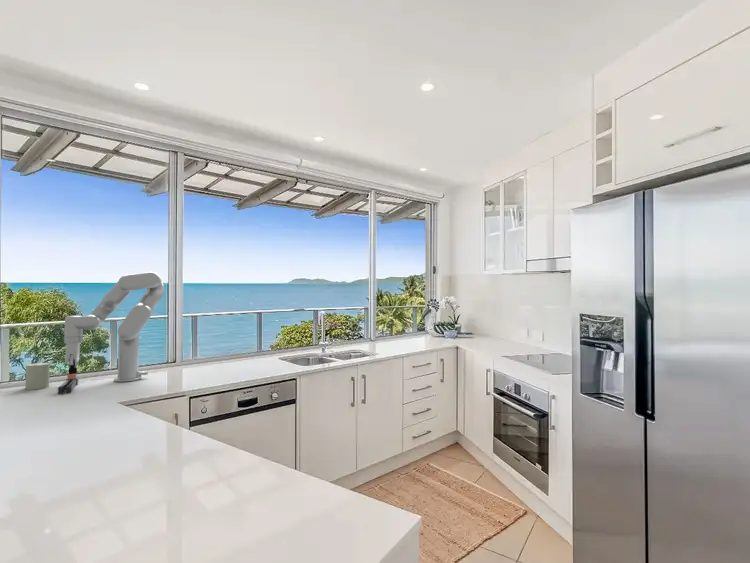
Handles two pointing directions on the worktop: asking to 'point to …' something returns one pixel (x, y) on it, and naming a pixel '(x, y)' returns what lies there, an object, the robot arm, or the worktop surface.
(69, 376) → the tab
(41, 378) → the can
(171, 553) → the worktop surface
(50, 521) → the worktop surface
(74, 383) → the tongs fixed
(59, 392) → the bar
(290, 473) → the worktop surface
